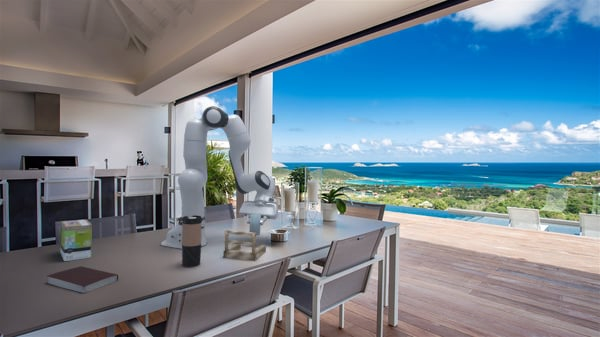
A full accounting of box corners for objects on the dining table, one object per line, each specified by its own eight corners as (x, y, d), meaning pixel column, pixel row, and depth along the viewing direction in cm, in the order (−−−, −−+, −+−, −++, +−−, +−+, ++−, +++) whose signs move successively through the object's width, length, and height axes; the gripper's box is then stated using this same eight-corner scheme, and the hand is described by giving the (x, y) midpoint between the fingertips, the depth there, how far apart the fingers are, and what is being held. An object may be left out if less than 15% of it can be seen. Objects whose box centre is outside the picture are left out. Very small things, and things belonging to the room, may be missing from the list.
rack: (223, 257, 147) (223, 231, 146) (236, 248, 161) (237, 224, 161) (254, 260, 143) (255, 233, 143) (265, 251, 158) (266, 226, 158)
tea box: (92, 257, 141) (92, 224, 141) (63, 262, 135) (63, 226, 134) (86, 249, 153) (86, 218, 152) (59, 253, 146) (60, 220, 146)
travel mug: (194, 268, 132) (195, 219, 131) (177, 266, 133) (178, 217, 133) (204, 262, 139) (205, 215, 139) (187, 260, 141) (188, 214, 140)
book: (82, 273, 124) (82, 264, 124) (118, 281, 117) (118, 272, 117) (46, 285, 113) (46, 275, 112) (84, 295, 105) (84, 285, 105)
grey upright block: (247, 234, 164) (248, 214, 163) (251, 232, 169) (252, 213, 169) (258, 235, 162) (259, 215, 162) (261, 233, 168) (262, 214, 168)
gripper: (242, 197, 174) (234, 218, 165) (279, 200, 170) (272, 222, 161) (245, 204, 179) (237, 225, 169) (281, 207, 174) (274, 229, 165)
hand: (254, 223), depth 165 cm, fingers closed on grey upright block, 5 cm apart
